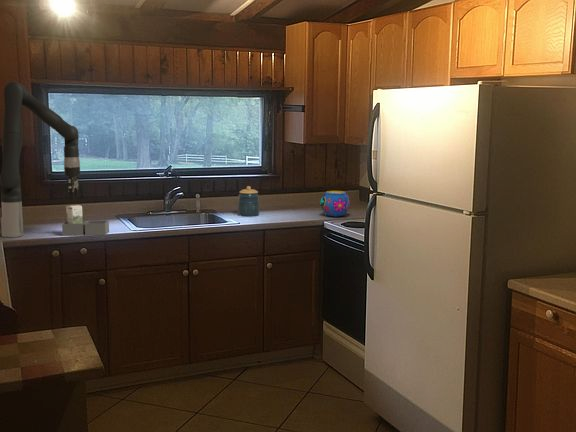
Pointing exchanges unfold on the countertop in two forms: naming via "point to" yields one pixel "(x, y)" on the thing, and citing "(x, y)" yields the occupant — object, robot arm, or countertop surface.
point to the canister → (248, 202)
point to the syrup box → (74, 214)
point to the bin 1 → (73, 229)
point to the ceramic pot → (335, 203)
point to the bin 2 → (96, 227)
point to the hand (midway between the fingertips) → (73, 198)
